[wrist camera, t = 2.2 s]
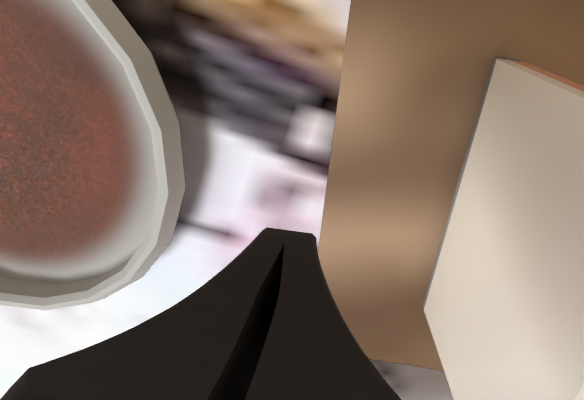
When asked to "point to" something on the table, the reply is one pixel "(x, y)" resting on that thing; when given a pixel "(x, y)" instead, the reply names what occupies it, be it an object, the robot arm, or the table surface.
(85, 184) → the frying pan
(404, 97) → the board
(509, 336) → the tile
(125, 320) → the table surface
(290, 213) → the table surface
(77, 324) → the table surface
